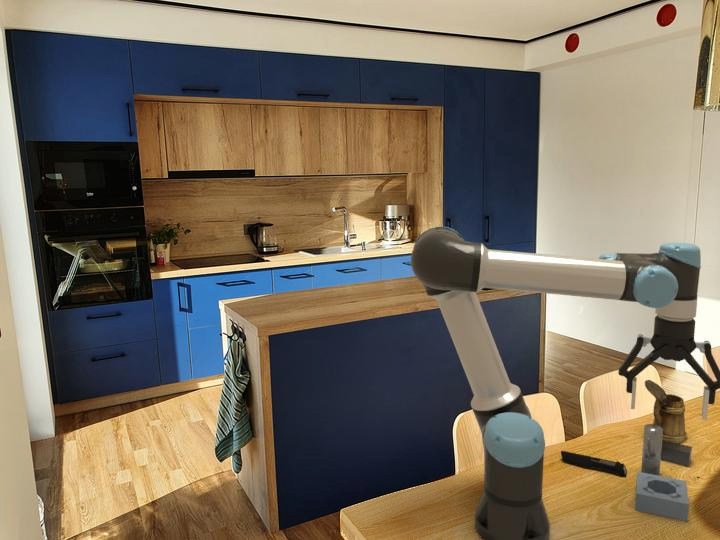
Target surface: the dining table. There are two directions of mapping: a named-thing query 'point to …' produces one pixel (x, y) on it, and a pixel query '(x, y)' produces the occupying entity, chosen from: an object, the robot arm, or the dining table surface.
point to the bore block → (662, 496)
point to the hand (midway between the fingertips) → (667, 412)
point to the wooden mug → (668, 413)
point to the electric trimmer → (594, 463)
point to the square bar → (676, 453)
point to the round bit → (652, 449)
